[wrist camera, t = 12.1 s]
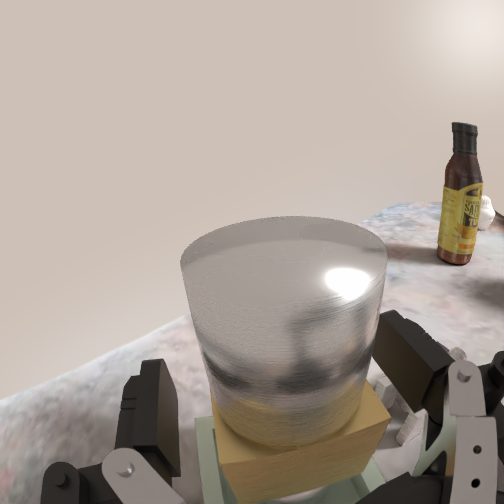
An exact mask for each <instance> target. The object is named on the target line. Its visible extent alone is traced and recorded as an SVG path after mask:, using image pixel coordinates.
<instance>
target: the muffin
mask: <svg viewBox="0 0 504 504" xmlns="http://www.w3.org/2000/svg"><path fill="white" fill-rule="evenodd" d="M494 216H495V212H494V210H493V208H492V205H491V200H490V199H489V198H488V197H486V196H485V195H484V196H482V199H481V208H480V216H479V223H478V229H480V230H487V228H488V227H489V225H490V224H491V222H492V221H493V218H494Z"/></svg>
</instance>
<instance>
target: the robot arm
mask: <svg viewBox="0 0 504 504" xmlns="http://www.w3.org/2000/svg"><path fill="white" fill-rule="evenodd" d="M372 357H373V359H374V360H375V361H376V363H377V364H378V365H379V367H380V368H381V369H382V371H383V372H384V373H385V375H386V376H387V377H388V379H389V380H390V381H391V383H392V384H393V385H394V387H395V388H396V389H397V391H398V392H399V393H400V395H401V396H402V397H403V399H404V400H405V402H406V403H407V404H408V406H409V407H410V408H411V410H412V411H413V413H414V414H415V413H417V412H418V411H420V410H422V409H425V410H426V411H427V412H426V414H425V419H424V429H423V438H422V446H421V453H420V457H419V460H418V462H417V465H416V467H415V469H414V472H413V476H412V477H411V475H410V474H409V472H406V473H404V474H402V475H401V476H399V477H397V478H395V479H393V480H391V481H389V482H386V483H384V484H382V485H380V486H379V487H377V488H376V489H375V490H373V491H372V492H370V493H369V494H368V495H366V496H365V497H363V498H362V499H361V500H359V501H358V502H356V503H355V504H504V492H502V491H497V468H498V456H499V458H500V459H501V461H502V462H503V464H504V406H503V405H502V403H501V400H502V399H503V397H504V351H500V352H498V353H496V354H495V356H494V358H493V360H492V362H491V363H490V364H486V365H482V366H476V365H475V364H473V363H472V362H470V361H466V360H458V361H455V360H454V359H453V358H452V357H451V356H450V355H449V354H448V353H447V352H446V351H445V350H444V349H443V348H442V347H441V346H440V345H439V344H438V343H437V342H436V341H435V340H434V339H432V337H431V336H430V335H429V334H428V333H426V332H425V330H424V329H423V328H422V327H420V326H419V325H418V324H417V323H415V322H413V321H411V320H409V319H407V318H406V319H404V318H403V317H402V316H401V315H400V314H399V313H398V312H397V311H395V310H391V311H387V312H384V313H381V314H380V315H379V320H378V326H377V331H376V336H375V341H374V346H373V351H372ZM120 408H121V411H120V414H119V421H118V428H117V435H116V443H115V448H114V450H113V451H111V452H110V453H109V454H108V455H107V456H106V457H105V458H104V460H103V462H102V463H100V464H97V465H93V466H89V467H85V468H80V469H76V468H75V467H73V466H72V465H71V464H69V463H66V462H56V463H54V464H52V465H50V466H49V467H48V468H47V470H46V471H45V474H44V477H43V485H42V493H41V503H40V504H188V503H187V502H186V501H185V500H183V499H182V498H181V497H180V496H179V495H178V494H177V493H176V492H175V491H174V490H173V489H172V477H181V470H180V454H179V430H178V399H177V393H176V389H175V386H174V383H173V381H172V378H171V376H170V373H169V371H168V368H167V366H166V363H165V361H164V359H153V360H144V361H142V364H141V370H140V375H137V376H131V377H130V379H129V380H128V382H127V383H126V385H125V386H124V390H123V395H122V401H121V407H120Z"/></svg>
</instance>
